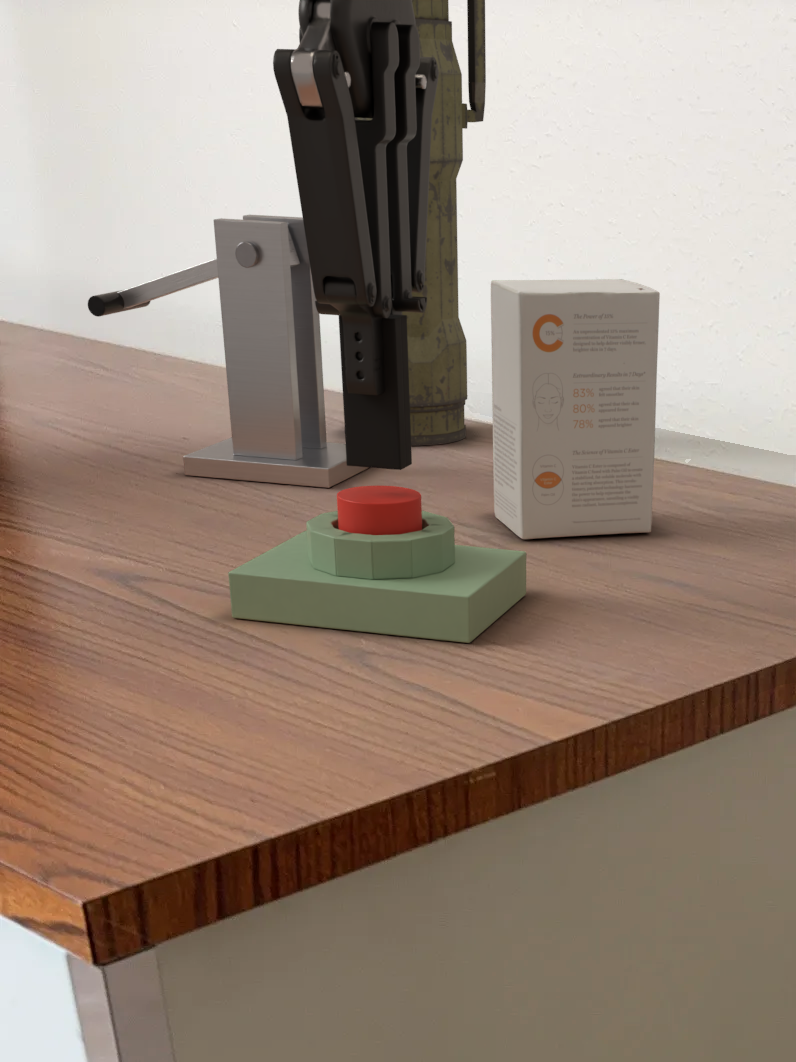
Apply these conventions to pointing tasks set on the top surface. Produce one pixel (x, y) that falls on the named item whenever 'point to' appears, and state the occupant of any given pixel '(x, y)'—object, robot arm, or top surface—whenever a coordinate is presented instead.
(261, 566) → the button box
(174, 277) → the lever
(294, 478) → the bracket
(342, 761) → the top surface
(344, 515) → the button
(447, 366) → the thermos
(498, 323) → the small box
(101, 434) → the top surface
